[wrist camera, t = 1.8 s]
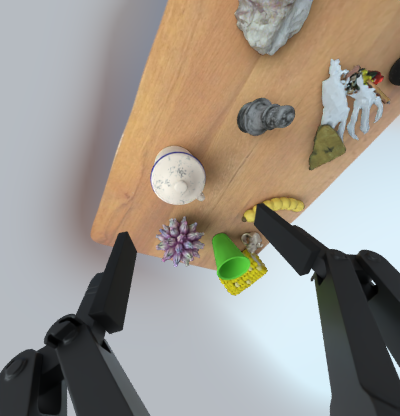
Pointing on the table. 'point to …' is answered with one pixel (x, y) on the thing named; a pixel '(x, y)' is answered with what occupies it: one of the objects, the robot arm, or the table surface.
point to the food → (246, 275)
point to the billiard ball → (395, 73)
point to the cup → (229, 258)
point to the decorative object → (337, 102)
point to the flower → (180, 241)
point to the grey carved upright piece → (264, 116)
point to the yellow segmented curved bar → (276, 207)
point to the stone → (326, 146)
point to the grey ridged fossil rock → (271, 22)
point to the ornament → (252, 241)
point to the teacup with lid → (178, 176)
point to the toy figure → (366, 81)
